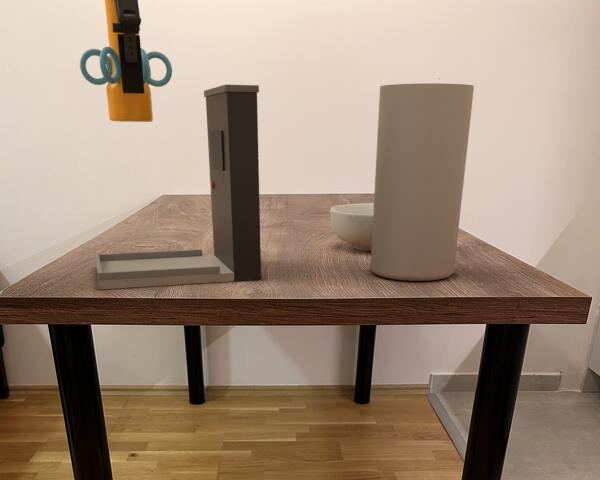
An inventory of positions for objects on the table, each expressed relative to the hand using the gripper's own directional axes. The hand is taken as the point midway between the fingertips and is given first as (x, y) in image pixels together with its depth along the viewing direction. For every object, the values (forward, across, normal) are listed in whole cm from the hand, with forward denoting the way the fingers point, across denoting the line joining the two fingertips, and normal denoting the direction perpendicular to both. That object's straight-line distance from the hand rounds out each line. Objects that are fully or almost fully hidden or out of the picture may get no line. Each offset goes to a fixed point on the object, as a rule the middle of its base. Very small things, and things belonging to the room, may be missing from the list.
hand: (129, 95), depth 88 cm
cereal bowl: (+24, +8, -43) cm, 49 cm away
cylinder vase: (+24, -15, -38) cm, 47 cm away
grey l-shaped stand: (+24, -5, -4) cm, 25 cm away
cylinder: (+3, 0, 0) cm, 3 cm away
